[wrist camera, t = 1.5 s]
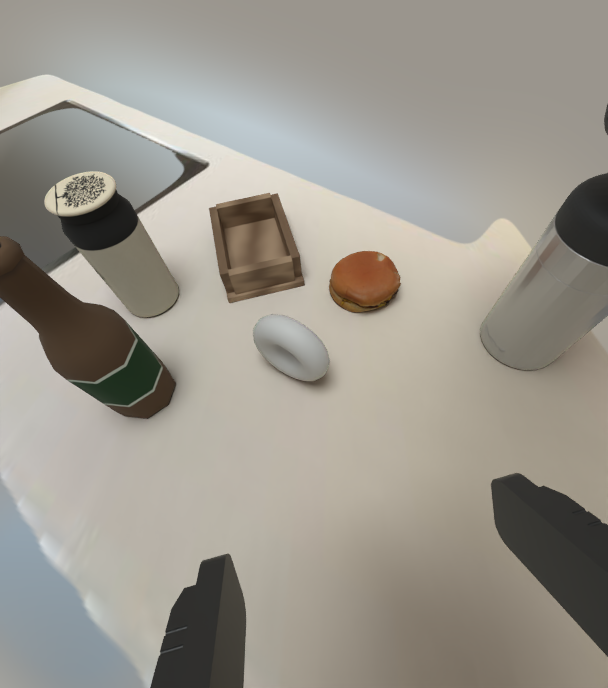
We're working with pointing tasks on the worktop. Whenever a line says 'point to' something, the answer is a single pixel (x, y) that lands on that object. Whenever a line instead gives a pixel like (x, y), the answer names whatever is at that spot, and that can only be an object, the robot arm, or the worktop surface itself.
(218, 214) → the walnut stand
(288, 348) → the donut
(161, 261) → the travel mug
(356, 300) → the burger
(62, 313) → the beer bottle
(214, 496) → the worktop surface
